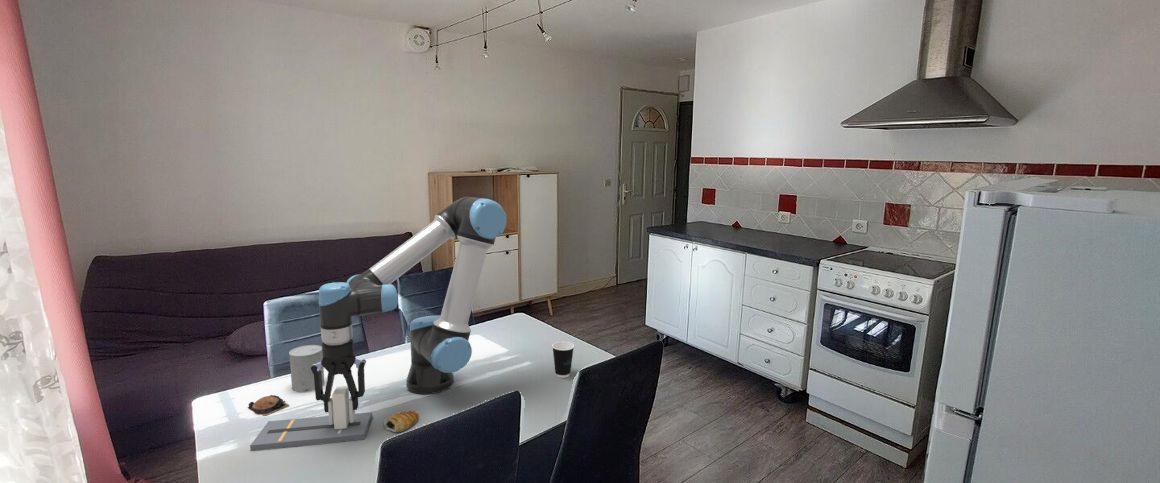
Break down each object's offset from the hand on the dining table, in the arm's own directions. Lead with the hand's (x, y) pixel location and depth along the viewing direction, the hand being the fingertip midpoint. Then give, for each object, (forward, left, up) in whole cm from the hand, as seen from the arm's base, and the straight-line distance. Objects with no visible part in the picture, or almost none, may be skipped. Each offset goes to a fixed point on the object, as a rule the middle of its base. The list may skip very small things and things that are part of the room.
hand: (342, 421), depth 135 cm
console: (+7, 0, -3) cm, 8 cm away
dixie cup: (-66, -24, -3) cm, 71 cm away
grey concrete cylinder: (+18, -31, -3) cm, 36 cm away
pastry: (-15, 0, -3) cm, 16 cm away
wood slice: (+25, -18, -3) cm, 31 cm away
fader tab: (0, 0, -1) cm, 1 cm away
